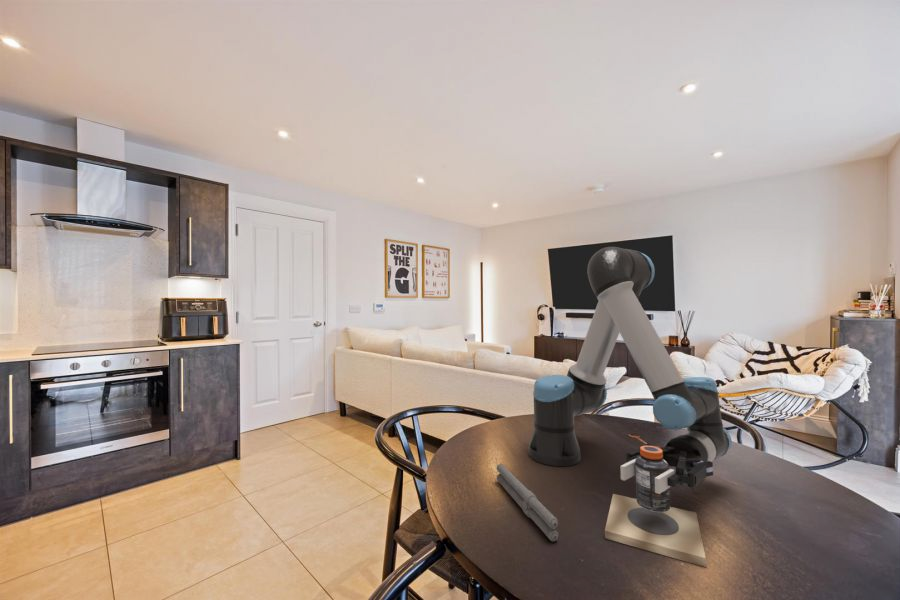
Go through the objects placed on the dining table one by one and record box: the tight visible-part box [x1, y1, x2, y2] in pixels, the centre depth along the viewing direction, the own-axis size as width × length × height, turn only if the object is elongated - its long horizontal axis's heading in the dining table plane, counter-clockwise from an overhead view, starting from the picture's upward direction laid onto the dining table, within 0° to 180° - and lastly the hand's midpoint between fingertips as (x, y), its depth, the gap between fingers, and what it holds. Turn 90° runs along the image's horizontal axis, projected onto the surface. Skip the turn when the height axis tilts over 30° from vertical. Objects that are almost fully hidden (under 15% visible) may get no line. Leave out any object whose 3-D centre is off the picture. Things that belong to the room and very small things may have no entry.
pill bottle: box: [635, 445, 671, 512], centre depth 73 cm, size 6×6×11 cm
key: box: [627, 433, 661, 448], centre depth 120 cm, size 6×1×15 cm
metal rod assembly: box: [496, 463, 559, 542], centre depth 81 cm, size 26×3×5 cm, turn 16°
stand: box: [604, 493, 707, 568], centre depth 73 cm, size 16×16×2 cm
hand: (639, 479), depth 70 cm, fingers closed on pill bottle, 6 cm apart
